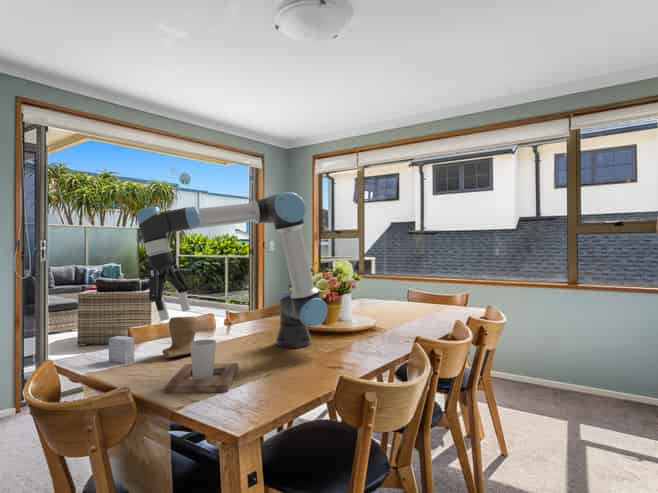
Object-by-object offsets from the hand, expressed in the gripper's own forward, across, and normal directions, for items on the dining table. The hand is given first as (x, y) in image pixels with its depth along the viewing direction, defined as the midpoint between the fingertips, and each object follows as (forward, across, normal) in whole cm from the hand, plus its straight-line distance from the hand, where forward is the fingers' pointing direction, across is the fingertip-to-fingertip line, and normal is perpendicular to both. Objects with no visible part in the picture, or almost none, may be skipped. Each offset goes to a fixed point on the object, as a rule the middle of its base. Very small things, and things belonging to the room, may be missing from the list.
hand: (176, 315), depth 136 cm
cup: (+22, +6, +6) cm, 23 cm away
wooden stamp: (+18, -21, -16) cm, 31 cm away
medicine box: (+12, -9, -32) cm, 35 cm away
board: (+22, +5, +7) cm, 23 cm away
